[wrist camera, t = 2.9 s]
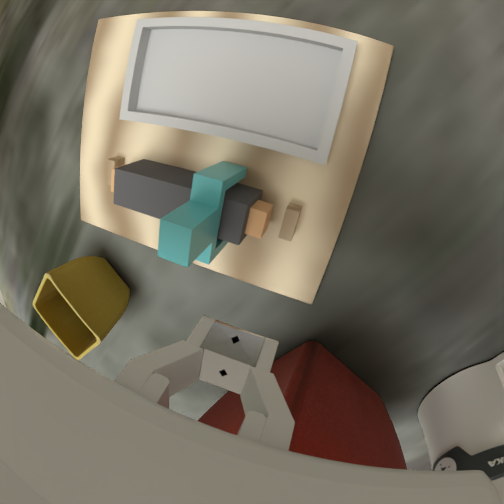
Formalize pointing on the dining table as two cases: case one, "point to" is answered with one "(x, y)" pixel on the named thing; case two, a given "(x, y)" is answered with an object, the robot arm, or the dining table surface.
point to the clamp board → (221, 149)
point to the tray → (239, 81)
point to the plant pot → (324, 411)
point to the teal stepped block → (199, 217)
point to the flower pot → (81, 302)
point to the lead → (188, 198)
